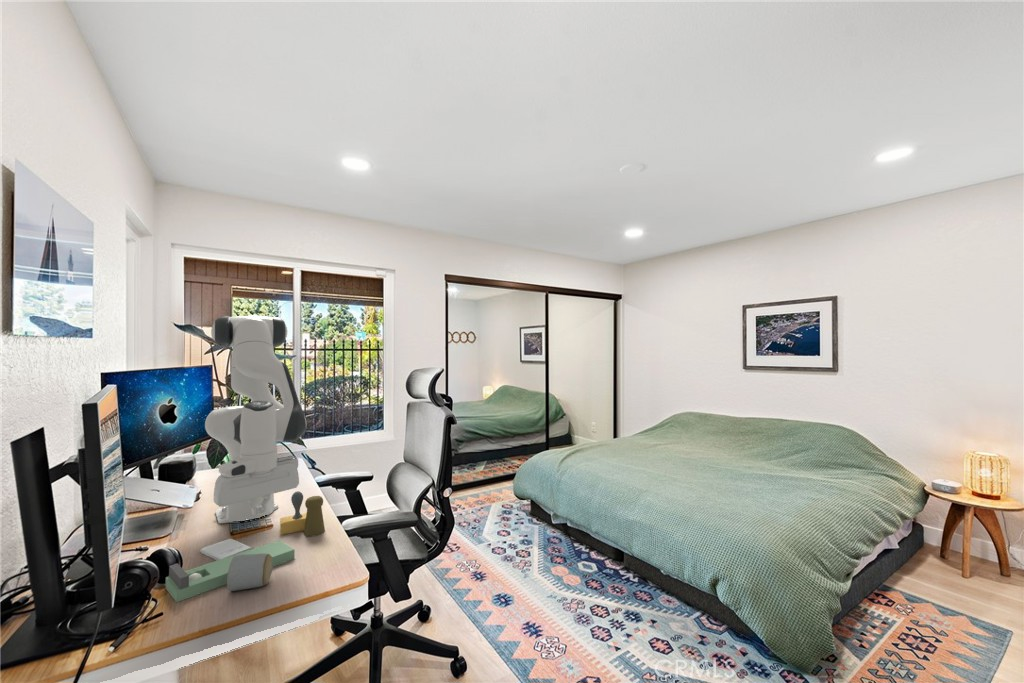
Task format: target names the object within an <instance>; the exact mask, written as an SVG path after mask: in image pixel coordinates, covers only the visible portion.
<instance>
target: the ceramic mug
mask: <svg viewBox="0 0 1024 683" xmlns="http://www.w3.org/2000/svg"><path fill="white" fill-rule="evenodd" d="M272 570H273V567H272V556H271V555H270V554H248V555H235V556H234V557H233V559H232V561H231V563H230V566H229V570H228V576H227V584H226V587H227V588H226V589H227V590H228V591H229V592H236V591H243V590H248V589H255V588H260V587H264V586H266V585H267V584H268V583H269V582H270V579H271V575H272Z"/></svg>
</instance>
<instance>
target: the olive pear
mask: <svg viewBox="0 0 1024 683" xmlns="http://www.w3.org/2000/svg"><path fill="white" fill-rule="evenodd" d="M304 505H305V508H306V513H307V514H306V522H305V529H304V530H303V531H304V532H303V535H304V536H306V537H314V536H318V535H321V534H323V533H324V532H326V530H325V521H324V516H323V508H322V506H323V505H324V498H323V497H322V496H320V495H314V496H309V497H307V499H306V500H305V503H304Z"/></svg>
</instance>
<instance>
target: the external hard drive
mask: <svg viewBox="0 0 1024 683" xmlns="http://www.w3.org/2000/svg"><path fill="white" fill-rule="evenodd" d="M251 549H253V547H252V546H249V545H247V544H244V543H242V542H240V541H238V540H235V539H234V538H226V539H225V540H222V541H219V542H215V543H212V544H210V545H207V546H204V547H202V548H200V549H199V550H200V551H199V553H200V552H201V553H200V554H203V555H205V556H207V557H209V558H212V560H213V559H214V560H215V561H217V560H220V559H223V558H226V557H230V556H233V555H236V554H239V553H242V552H245V551H248V550H251Z"/></svg>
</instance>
